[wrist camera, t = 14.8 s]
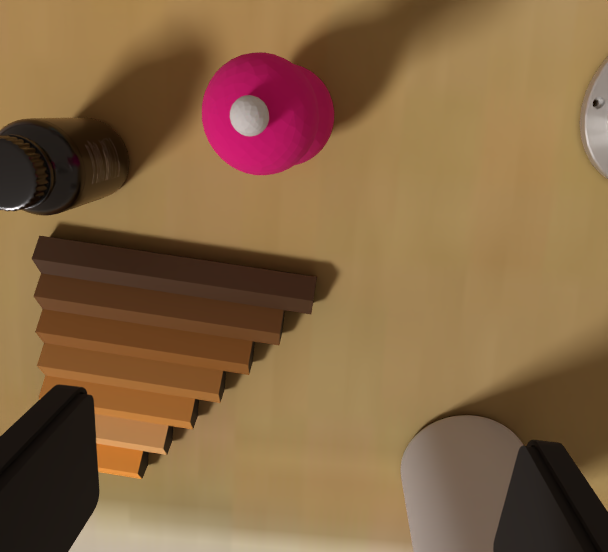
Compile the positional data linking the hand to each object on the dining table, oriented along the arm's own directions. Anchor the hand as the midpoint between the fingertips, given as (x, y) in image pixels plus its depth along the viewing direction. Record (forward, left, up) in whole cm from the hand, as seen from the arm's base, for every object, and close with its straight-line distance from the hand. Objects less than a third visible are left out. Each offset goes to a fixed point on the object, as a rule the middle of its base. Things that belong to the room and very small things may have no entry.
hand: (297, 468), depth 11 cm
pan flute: (+14, +18, -34) cm, 41 cm away
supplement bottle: (+21, -2, -34) cm, 40 cm away
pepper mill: (+4, -7, -34) cm, 34 cm away
